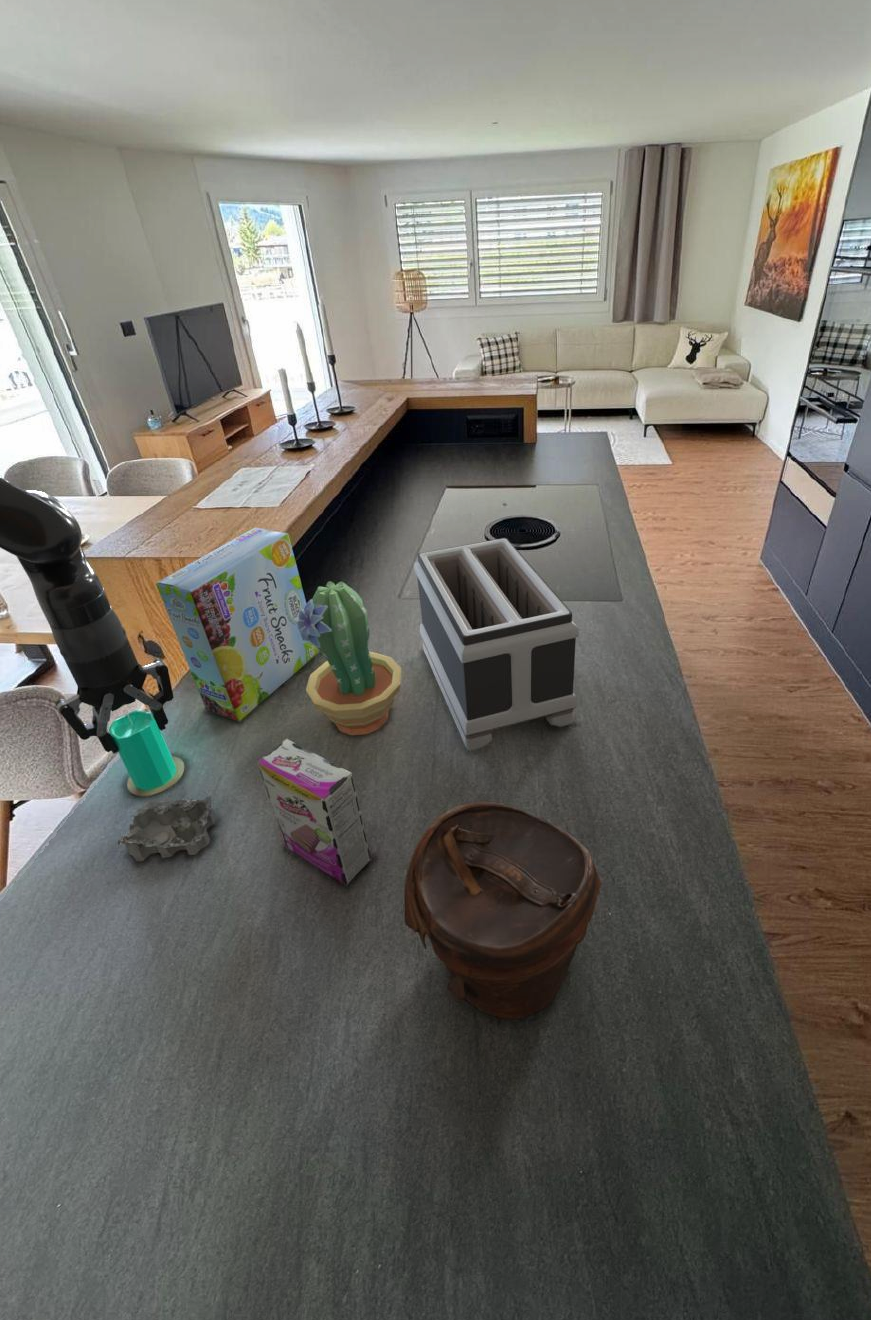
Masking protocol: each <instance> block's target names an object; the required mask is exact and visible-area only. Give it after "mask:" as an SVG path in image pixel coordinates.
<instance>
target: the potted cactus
mask: <svg viewBox="0 0 871 1320" xmlns="http://www.w3.org/2000/svg"><path fill="white" fill-rule="evenodd" d="M368 616H369V615H368V611H367V609H366V608H365V606H364V603H363V598H362V597H361V596H360V595H359V593H357V592H356V590H354V589H353V588H351V587H350V586H349V585H347V584H346V583H345V582H343V581H339V582H337V583H336V584H335V583H334V582H333V581H331V580H330V581H327V583H326V585H325V586H317V589H316V590H315V592H314V595H313V597H312V598H311V599H309V600H308V602H306V606H305V607H304V609H301V610H300V613H299V616H298V618H299V621H297V624H298V629H299V630H300V634H301V636H302V639H303V641H305V640H306V641H307V642H308V641H310V642H311V643H312V644H314V645H315V646H316V647H317V648H318V650H319V652H320V653H321V655H323V656H324V657H325V659H326V661H324V663H322V664H321V665H320V666H319V667H317V668H316V669H315V670H314V671H313V672H312V673H310V675H309V678H308V681H307V684H306V686H305V687H306V688H305V691H306V694H307V695H308V697H309V698H310V700H311V702H312V703H313V705H314V707H315V708H316V709H317V710H318V711H319V712H323V713H324V714H325V716H326V717H327V718H328V720H329V721H331V722H333V723H334V724H335V726H336V728H337V729H338V731H339V732H342V733H344V734H347V735H349V736H359V735H363V736H364V735H367V734H370V733H372V732H374V731H377V730H380V728H381V727H383V725H384V724H385V723H386V722H387V721H388V719H389V718H388V717H389V710H390V709H391V708H392V706H393V704H394V701H395V697H396V695H397V694H398V693H399V692H400V689H401V681H402V671H403V669H402V667H401V666H400V665H399V664H398V662H396V660H394V659H393V658H392V657H391V656H388V655H385V654H381V653H377V652H375V651H369V641H370V625H369V624H370V623H369V617H368Z"/></svg>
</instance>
